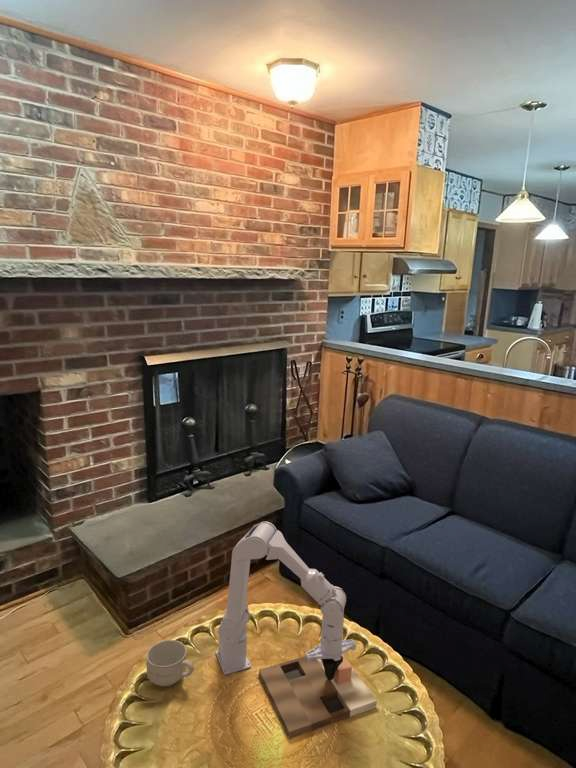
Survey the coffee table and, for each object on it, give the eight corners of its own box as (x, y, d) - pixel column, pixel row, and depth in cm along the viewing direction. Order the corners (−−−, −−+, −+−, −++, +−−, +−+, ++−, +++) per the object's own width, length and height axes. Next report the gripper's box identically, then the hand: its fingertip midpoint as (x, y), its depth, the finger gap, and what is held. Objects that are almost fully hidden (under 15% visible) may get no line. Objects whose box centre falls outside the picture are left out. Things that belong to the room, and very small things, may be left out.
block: (331, 673, 137) (332, 660, 136) (343, 669, 138) (344, 656, 137) (338, 683, 133) (339, 670, 132) (351, 679, 135) (351, 666, 134)
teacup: (138, 680, 134) (137, 654, 133) (168, 656, 143) (168, 632, 142) (173, 705, 127) (173, 679, 125) (203, 679, 135) (203, 654, 134)
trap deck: (258, 675, 137) (259, 669, 137) (337, 652, 147) (337, 646, 147) (288, 739, 118) (289, 732, 118) (376, 707, 128) (376, 700, 128)
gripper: (314, 650, 125) (311, 696, 127) (363, 636, 131) (359, 680, 133) (302, 632, 131) (300, 676, 134) (349, 620, 137) (346, 662, 140)
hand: (329, 677), depth 134 cm, fingers closed
